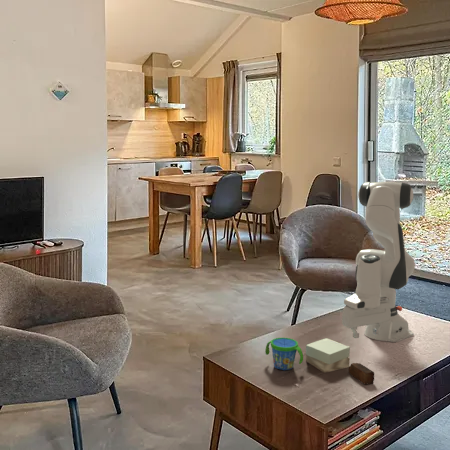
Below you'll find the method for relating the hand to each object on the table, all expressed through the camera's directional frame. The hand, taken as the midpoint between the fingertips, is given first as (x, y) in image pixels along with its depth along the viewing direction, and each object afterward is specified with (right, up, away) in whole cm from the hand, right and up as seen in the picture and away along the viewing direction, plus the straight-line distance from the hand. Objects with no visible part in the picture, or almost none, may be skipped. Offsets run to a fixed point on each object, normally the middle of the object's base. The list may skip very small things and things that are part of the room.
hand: (365, 335), depth 203 cm
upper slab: (-12, -11, +14) cm, 21 cm away
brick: (-1, -17, +2) cm, 17 cm away
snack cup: (-29, -15, +12) cm, 35 cm away
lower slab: (-11, -15, +15) cm, 24 cm away
